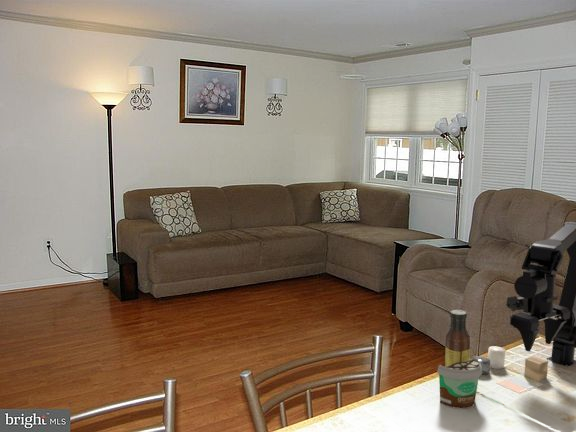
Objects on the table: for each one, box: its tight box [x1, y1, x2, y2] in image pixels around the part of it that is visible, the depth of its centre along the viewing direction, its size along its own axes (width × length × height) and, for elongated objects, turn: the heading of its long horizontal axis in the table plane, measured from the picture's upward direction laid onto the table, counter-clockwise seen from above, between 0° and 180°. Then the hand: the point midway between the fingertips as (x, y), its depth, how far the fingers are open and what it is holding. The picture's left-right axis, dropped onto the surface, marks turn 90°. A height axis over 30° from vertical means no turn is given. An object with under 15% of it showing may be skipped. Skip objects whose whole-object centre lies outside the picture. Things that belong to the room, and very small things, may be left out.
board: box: [496, 372, 554, 395], centre depth 140 cm, size 14×7×1 cm, turn 123°
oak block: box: [523, 355, 549, 382], centre depth 142 cm, size 4×4×5 cm
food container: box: [436, 356, 482, 409], centre depth 128 cm, size 12×6×10 cm, turn 117°
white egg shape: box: [487, 345, 506, 370], centre depth 149 cm, size 4×4×6 cm
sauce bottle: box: [444, 309, 471, 367], centre depth 138 cm, size 6×6×20 cm
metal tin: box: [470, 355, 491, 376], centre depth 146 cm, size 5×5×4 cm
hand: (537, 347), depth 141 cm, fingers open, 9 cm apart
